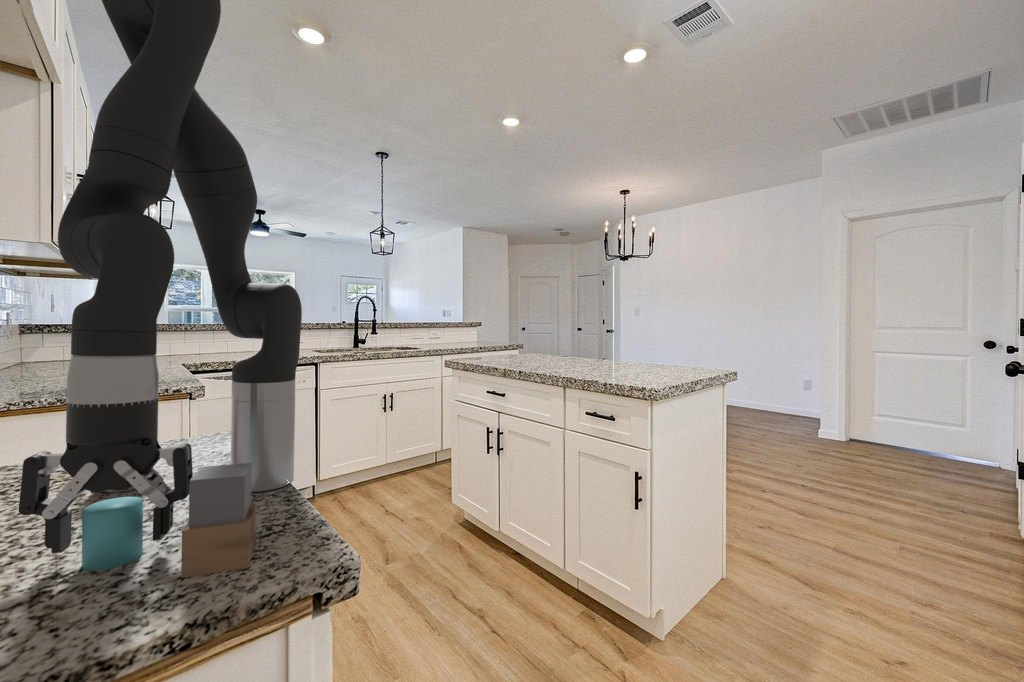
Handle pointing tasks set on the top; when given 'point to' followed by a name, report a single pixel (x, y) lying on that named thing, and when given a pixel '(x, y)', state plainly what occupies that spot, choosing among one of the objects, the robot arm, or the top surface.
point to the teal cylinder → (112, 533)
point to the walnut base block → (218, 546)
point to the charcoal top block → (220, 495)
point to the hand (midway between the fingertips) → (111, 543)
